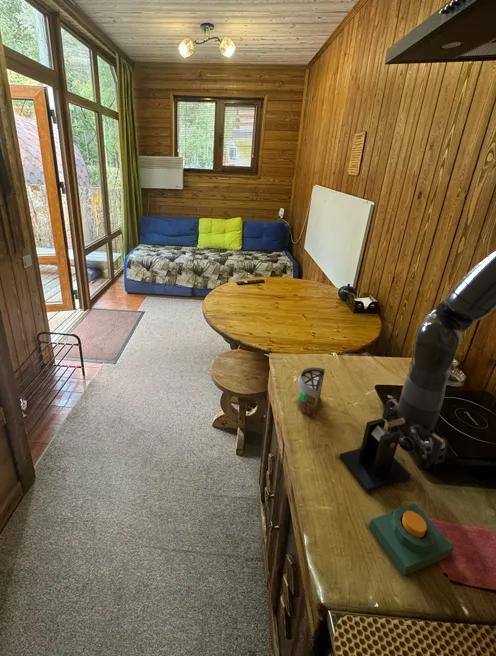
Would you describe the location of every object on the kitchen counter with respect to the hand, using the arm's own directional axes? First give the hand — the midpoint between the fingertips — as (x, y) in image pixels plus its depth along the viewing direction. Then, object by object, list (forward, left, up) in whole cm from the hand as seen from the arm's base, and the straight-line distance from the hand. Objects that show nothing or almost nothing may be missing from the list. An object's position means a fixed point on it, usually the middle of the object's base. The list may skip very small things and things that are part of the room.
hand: (405, 452), depth 74 cm
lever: (+5, +2, +4) cm, 7 cm away
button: (+9, +18, +2) cm, 20 cm away
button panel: (+9, +18, -2) cm, 20 cm away
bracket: (+9, +3, -2) cm, 9 cm away
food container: (+20, -17, -2) cm, 26 cm away
